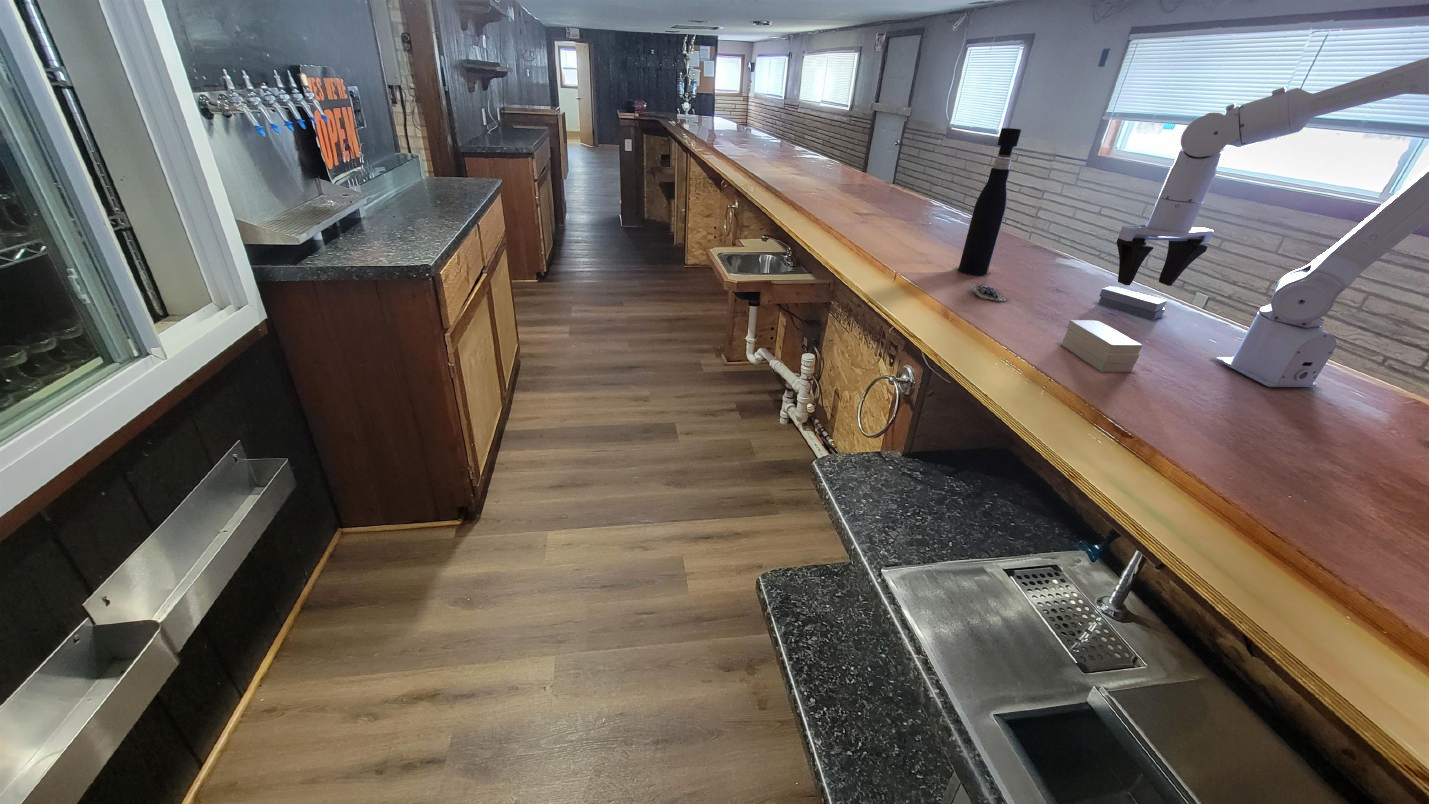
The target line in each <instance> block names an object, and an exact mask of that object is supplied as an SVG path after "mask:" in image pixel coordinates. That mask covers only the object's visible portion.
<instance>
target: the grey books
mask: <svg viewBox="0 0 1429 804" xmlns="http://www.w3.org/2000/svg"><path fill="white" fill-rule="evenodd" d="M1099 297H1100V298H1099V300H1098V303H1097V305H1099V306H1103V307H1105V308H1109V309H1113V310H1116V311H1119V312H1123V313H1127V314H1130V315H1133V316H1136V317H1140V318H1144V319H1147V320H1150V321H1154V320H1157V319H1159V318H1162V317H1163V315H1164V313H1165V311H1166V308H1165V306H1166V304H1167V302H1168V300H1167V299H1163V298H1161V297H1160V298H1159V297H1156V296H1153V295H1149V294H1144V293H1141V292H1137V291H1133V290H1130V289H1126V288H1123V287H1118V286H1114V285H1109V286H1107V287H1104V288H1103V287H1102V289H1101V291H1100V292H1099Z"/></svg>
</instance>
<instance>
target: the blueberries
mask: <svg viewBox="0 0 1429 804" xmlns="http://www.w3.org/2000/svg"><path fill="white" fill-rule="evenodd" d="M970 288H971V290H972V291H973V292H974V294H975V295H976V296H978V297H979V298H981V299H985V300H991V301H996V302H1006V300H1007V298H1006V297H1004V295H1003V293H1001V292H1002V291H1001V290H1000V291H999V289H996V288H995V287H992V286H990V285H987V286H986V285H985V284H980V285H976V286H970ZM1002 295H1003V296H1002Z"/></svg>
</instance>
